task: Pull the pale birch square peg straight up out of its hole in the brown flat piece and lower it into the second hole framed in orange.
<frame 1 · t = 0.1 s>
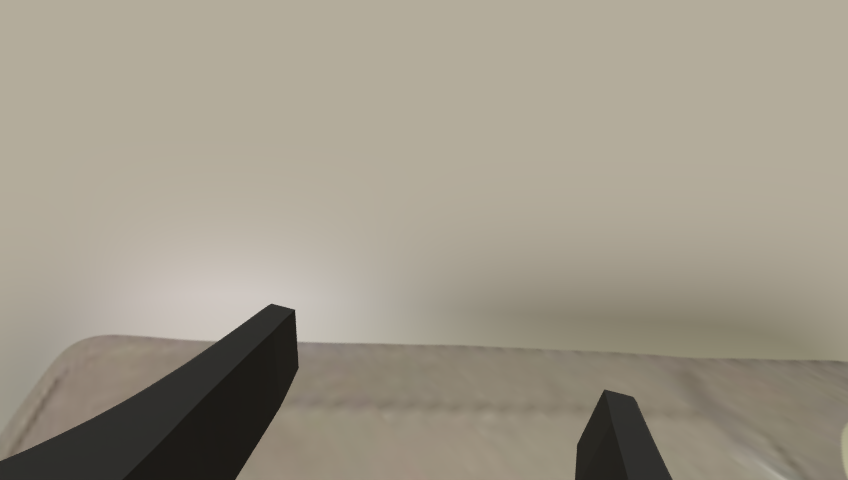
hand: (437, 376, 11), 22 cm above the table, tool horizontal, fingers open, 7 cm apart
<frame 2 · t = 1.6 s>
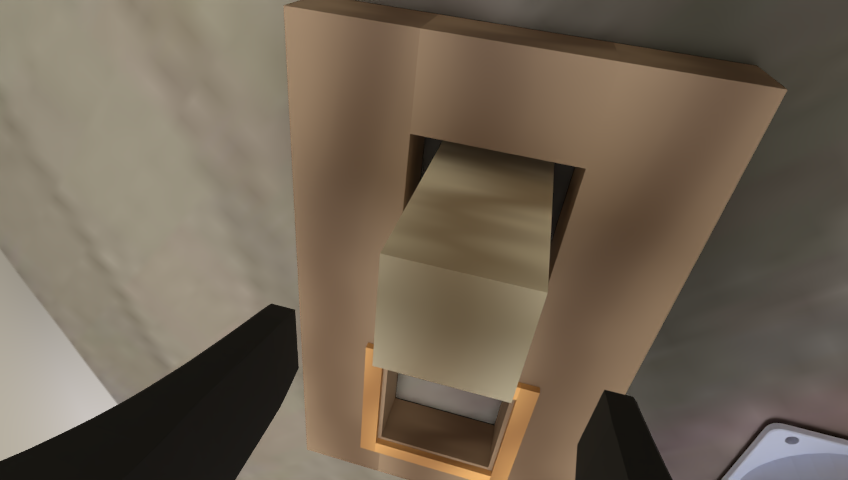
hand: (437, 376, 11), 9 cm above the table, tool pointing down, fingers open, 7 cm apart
peg: (490, 191, 19), resting in brown flat piece
brown flat piece: (467, 298, 22), on the table
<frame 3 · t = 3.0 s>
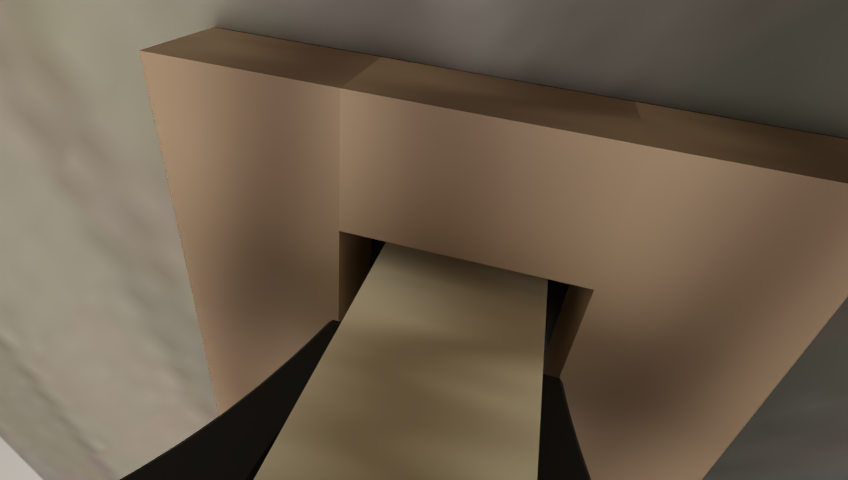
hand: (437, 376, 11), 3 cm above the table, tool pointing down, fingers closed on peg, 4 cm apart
peg: (462, 286, 14), resting in brown flat piece, touching gripper
brown flat piece: (439, 405, 17), on the table
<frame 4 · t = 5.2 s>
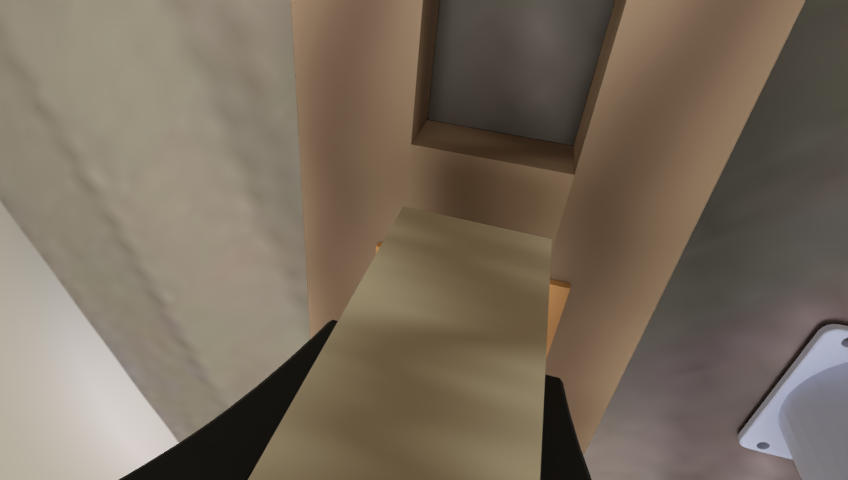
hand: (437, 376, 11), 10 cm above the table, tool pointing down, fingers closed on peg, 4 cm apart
peg: (464, 280, 14), point 7 cm above the table, touching gripper
brown flat piece: (487, 194, 20), on the table
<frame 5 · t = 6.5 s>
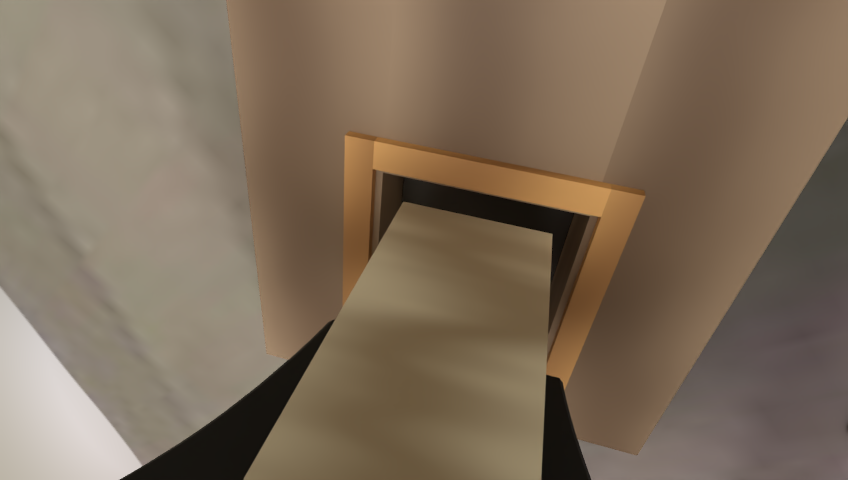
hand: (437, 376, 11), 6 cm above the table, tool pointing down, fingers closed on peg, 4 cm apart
peg: (464, 276, 14), point 3 cm above the table, touching gripper
brown flat piece: (513, 67, 13), on the table
when the fingers open (4 cm above the table, at t = 7.4 s): peg stays where it is, resting in brown flat piece.
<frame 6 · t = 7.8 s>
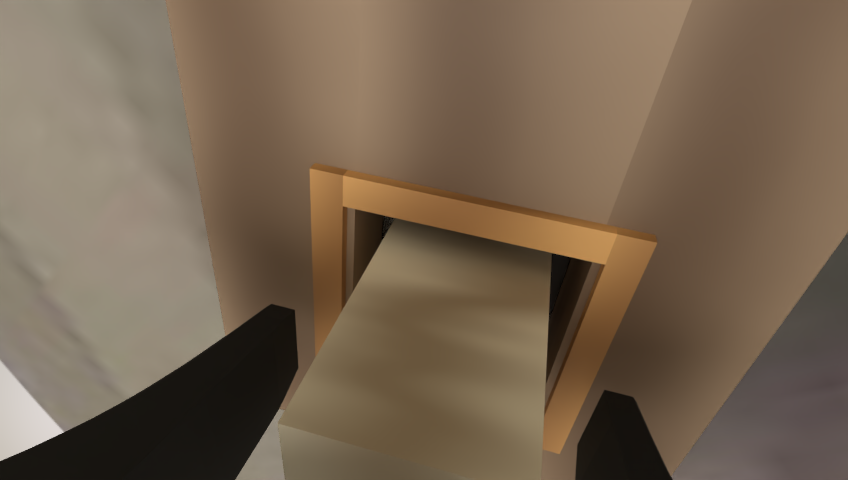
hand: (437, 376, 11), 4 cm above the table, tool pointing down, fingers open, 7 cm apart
peg: (471, 258, 15), resting in brown flat piece
brown flat piece: (504, 88, 12), on the table
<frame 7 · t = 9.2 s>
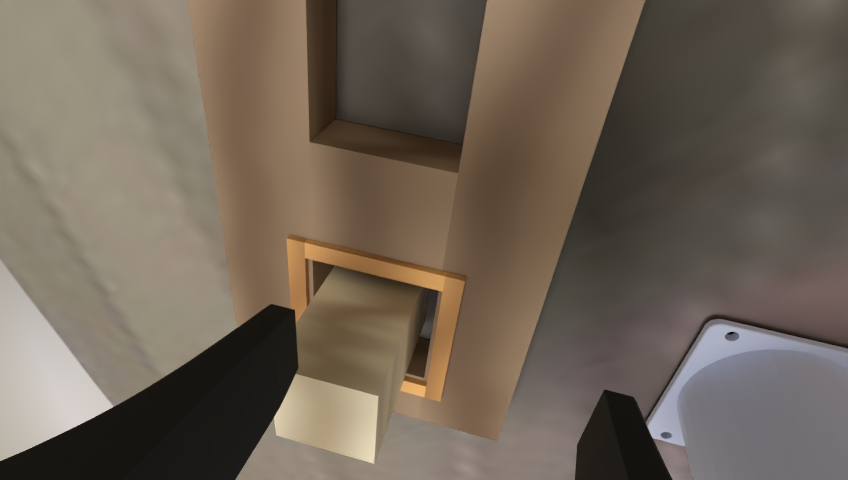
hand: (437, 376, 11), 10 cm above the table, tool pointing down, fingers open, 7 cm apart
peg: (388, 282, 24), resting in brown flat piece
brown flat piece: (396, 191, 21), on the table
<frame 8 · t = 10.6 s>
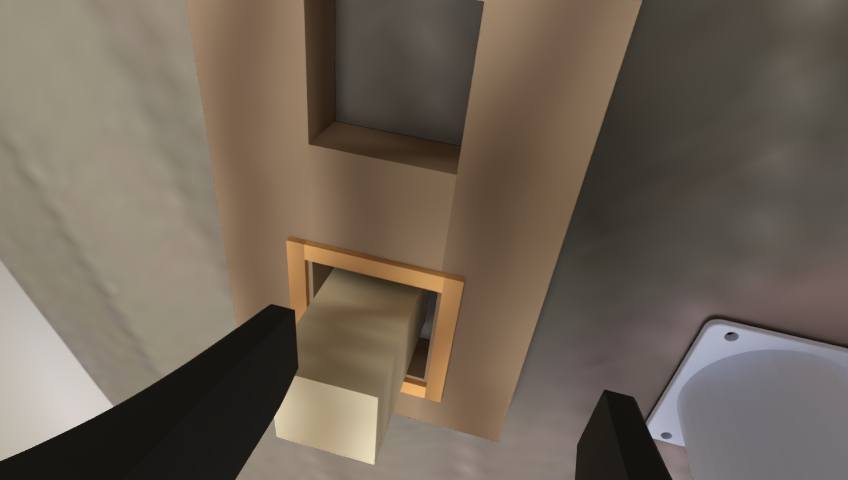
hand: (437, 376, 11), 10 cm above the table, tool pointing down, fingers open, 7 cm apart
peg: (388, 284, 24), resting in brown flat piece
brown flat piece: (395, 192, 21), on the table
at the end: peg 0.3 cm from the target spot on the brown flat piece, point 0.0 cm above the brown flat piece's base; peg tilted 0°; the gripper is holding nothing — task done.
